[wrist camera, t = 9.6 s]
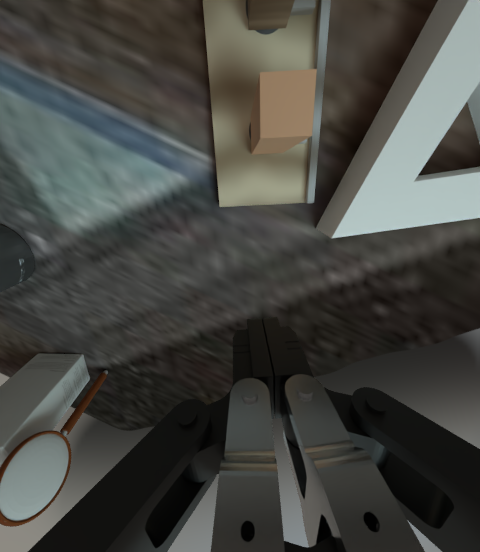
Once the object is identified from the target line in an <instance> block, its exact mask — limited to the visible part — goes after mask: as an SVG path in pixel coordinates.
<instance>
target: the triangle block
mask: <svg viewBox="0 0 480 552" xmlns="http://www.w3.org/2000/svg"><path fill="white" fill-rule="evenodd" d="M466 102H468V106H469V109H470V112H471V116H472V119H473V123H474V126H475V129H476V133H477V136H478V140H479V143H480V0H438V1H437V3H436V5H435V7H434V9H433V10H432V12H431V14H430V16H429V18H428V20H427V22H426V23H425V25H424V27H423V29H422V31H421V33H420V35H419V36H418V38H417V40H416V42H415V44H414V46H413V48H412V50H411V51H410V53H409V55H408V57H407V59H406V61H405V63H404V64H403V66H402V68H401V70H400V72H399V74H398V76H397V77H396V79H395V81H394V83H393V85H392V87H391V89H390V90H389V92H388V94H387V96H386V98H385V100H384V102H383V104H382V105H381V107H380V109H379V111H378V113H377V115H376V117H375V118H374V120H373V122H372V124H371V126H370V128H369V130H368V131H367V133H366V135H365V137H364V139H363V141H362V143H361V144H360V146H359V148H358V150H357V152H356V154H355V156H354V158H353V159H352V161H351V163H350V165H349V167H348V169H347V171H346V172H345V174H344V176H343V178H342V180H341V182H340V184H339V185H338V187H337V189H336V191H335V193H334V195H333V197H332V198H331V200H330V202H329V204H328V206H327V208H326V210H325V212H324V213H323V215H322V217H321V219H320V221H319V223H318V225H317V226H316V229H317V230H319V231H321V232H322V233H324V234H325V235H327V236H329V237H330V238H337V237H344V236H352V235H359V234H366V233H373V232H380V231H388V230H395V229H402V228H409V227H416V226H423V225H431V224H438V223H445V222H452V221H459V220H467V219H474V218H480V167H474V168H467V169H460V170H454V171H447V172H440V173H434V174H427V175H420V176H418V175H419V173H420V172H421V170H422V169H423V167H424V165H425V164H426V162H427V161H428V159H429V158H430V156H431V155H432V153H433V152H434V150H435V149H436V147H437V146H438V144H439V143H440V141H441V140H442V138H443V137H444V135H445V134H446V132H447V131H448V129H449V128H450V126H451V124H452V123H453V121H454V120H455V118H456V117H457V115H458V114H459V112H460V111H461V109H462V108H463V106H464V105H465V103H466Z"/></svg>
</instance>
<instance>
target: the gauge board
mask: <svg viewBox="0 0 480 552" xmlns="http://www.w3.org/2000/svg"><path fill="white" fill-rule="evenodd" d="M330 2H331V0H316V3H315V9H314V11H313V13H312V14H310V15H294V16H290V17H289V20H288V23H287V26H286V28H281V29H264V30H248V0H203V10H204V22H205V34H206V46H207V59H208V71H209V83H210V95H211V108H212V120H213V132H214V144H215V156H216V169H217V181H218V193H219V205H220V207H228V206H248V205H267V204H287V203H314V196H315V184H316V172H317V159H318V147H319V135H320V123H321V111H322V99H323V87H324V75H325V63H326V50H327V38H328V26H329V14H330ZM309 69H317V73H316V87H315V101H314V115H313V129H312V136H311V137H309V138H307V142H306V143H305V144H297V145H295V146H294V147H292V148H290V149H289V150H287V151H285V152H283V153H273V154H254V155H251V113H252V108H253V103H254V98H255V93H256V89H257V84H258V79H259V74H260V72H274V71H292V70H309Z"/></svg>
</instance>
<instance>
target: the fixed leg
mask: <svg viewBox="0 0 480 552" xmlns="http://www.w3.org/2000/svg"><path fill="white" fill-rule="evenodd" d="M315 3H316V0H248V30H264V29H281V28H286V26H287V23H288V20H289V17H290V16H294V15H310V14H312V13H313V11H314V9H315Z"/></svg>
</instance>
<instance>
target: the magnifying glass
mask: <svg viewBox="0 0 480 552" xmlns="http://www.w3.org/2000/svg"><path fill="white" fill-rule="evenodd" d="M107 373H108V371H107V370H105V371H104V372H103V373H101V374H100V375H99V377H98V378H97V379H96V381H95V382H94V384H93V385H92V387H91V388H90V389H89V391H88V392H87V394H86V395H85V396H84V398H83V399H82V401H81V402H80V404H79V405H78V406H77V408H76V409H75V411H74V412H73V413H72V415H71V416H70V418H69V419H68V421H67V422H66V423H65V425H64V426H63V428H62V429H61V431H60V432H61V433H59V432H57V431H52V430H49V431H42V432H39V433H36V434H34V435H32V436H30V437H28V438H27V439H25V440H24V441H22V442H21V443H20V444H19V445H18V446H17V447H16V448H15V449H14V450H13V451H12V452H11V453H10V454H9V455H8V457H7V458H6V459H5V460H4V462H3V464H2V465H1V467H0V524H2V525H4V526H19V525H22V524H25V523H27V522H30V521H31V520H33V519H35V518H36V517H38V516H39V515H40V514H41V513H42V512H44V511H45V509H47V508H48V507H49V506H50V504H51V503H52V502H53V501H54V500H55V498H56V497H57V495H58V494H59V492H60V491H61V489H62V487H63V485H64V483H65V481H66V478H67V475H68V473H69V469H70V464H71V449H70V444H69V442H68V440H67V438H66V437H65V436H66V435H67V434H69V432H70V431H71V430H72V428H73V427H74V425H75V424H76V422H77V421H78V419H79V418H80V416H81V415H82V413H83V412H84V410H85V409H86V407H87V406H88V404H89V403H90V401H91V400H92V398H93V397H94V395H95V394H96V392H97V391H98V389H99V387H100V386H101V384H102V383H103V381H104V380H105V378H106V377H107Z"/></svg>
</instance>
